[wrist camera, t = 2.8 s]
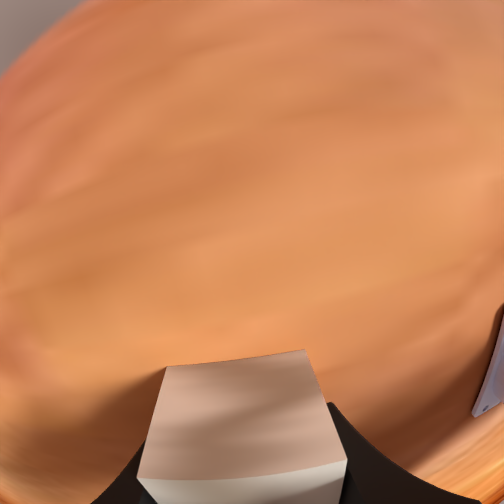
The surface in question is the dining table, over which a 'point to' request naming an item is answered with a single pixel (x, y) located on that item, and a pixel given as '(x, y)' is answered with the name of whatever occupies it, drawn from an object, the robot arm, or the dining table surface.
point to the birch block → (243, 435)
